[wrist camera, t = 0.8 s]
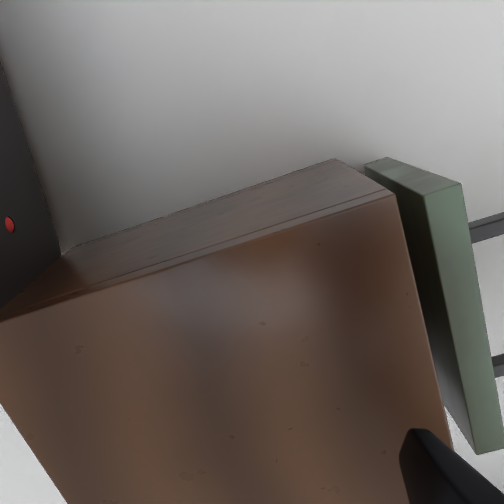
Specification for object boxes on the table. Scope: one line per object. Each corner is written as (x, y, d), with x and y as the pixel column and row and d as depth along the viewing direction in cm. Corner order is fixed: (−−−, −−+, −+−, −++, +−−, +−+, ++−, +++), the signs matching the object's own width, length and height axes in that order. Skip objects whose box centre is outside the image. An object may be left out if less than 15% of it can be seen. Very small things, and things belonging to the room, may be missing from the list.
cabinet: (335, 157, 20) (396, 192, 11) (389, 355, 24) (464, 493, 15) (72, 247, 22) (-46, 336, 13) (161, 418, 26) (114, 575, 17)
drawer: (512, 114, 18) (664, 117, 12) (537, 315, 22) (666, 409, 15) (128, 243, 21) (65, 310, 14) (205, 407, 24) (185, 526, 17)
